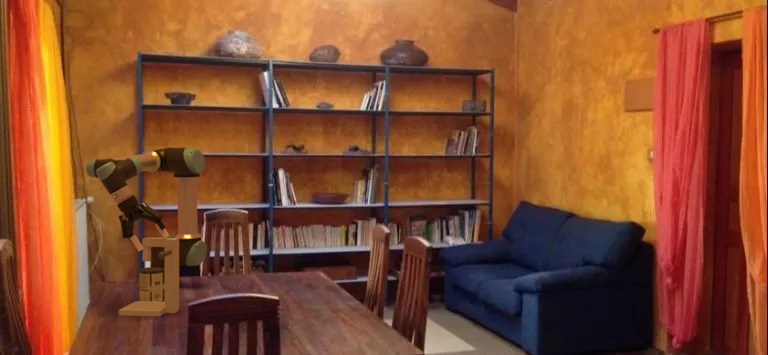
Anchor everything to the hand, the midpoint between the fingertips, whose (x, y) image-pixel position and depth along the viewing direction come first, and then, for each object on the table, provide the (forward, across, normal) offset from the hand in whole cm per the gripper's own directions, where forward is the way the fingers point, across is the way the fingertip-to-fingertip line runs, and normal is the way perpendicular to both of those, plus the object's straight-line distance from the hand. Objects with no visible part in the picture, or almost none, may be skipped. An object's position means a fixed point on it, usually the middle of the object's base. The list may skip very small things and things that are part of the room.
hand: (154, 244), depth 278 cm
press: (+22, -10, -12) cm, 27 cm away
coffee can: (+22, -21, +2) cm, 30 cm away
